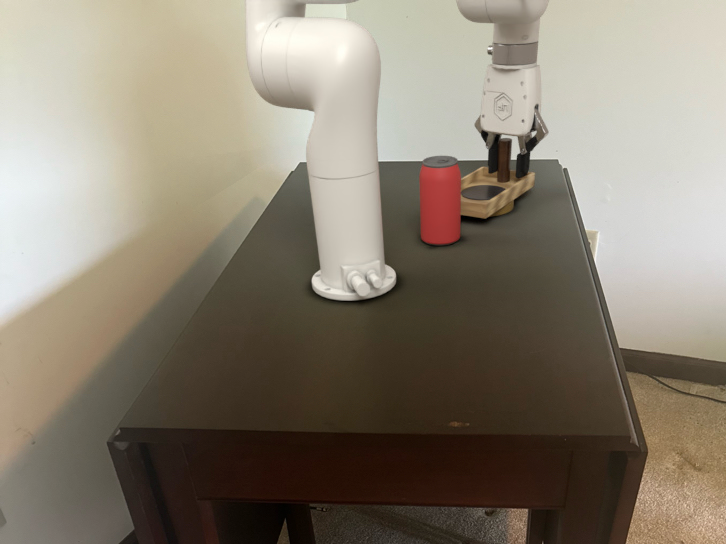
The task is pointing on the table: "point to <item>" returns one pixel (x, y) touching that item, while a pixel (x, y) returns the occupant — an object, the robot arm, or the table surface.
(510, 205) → the turntable base
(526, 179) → the tray
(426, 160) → the beer can
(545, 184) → the table surface
